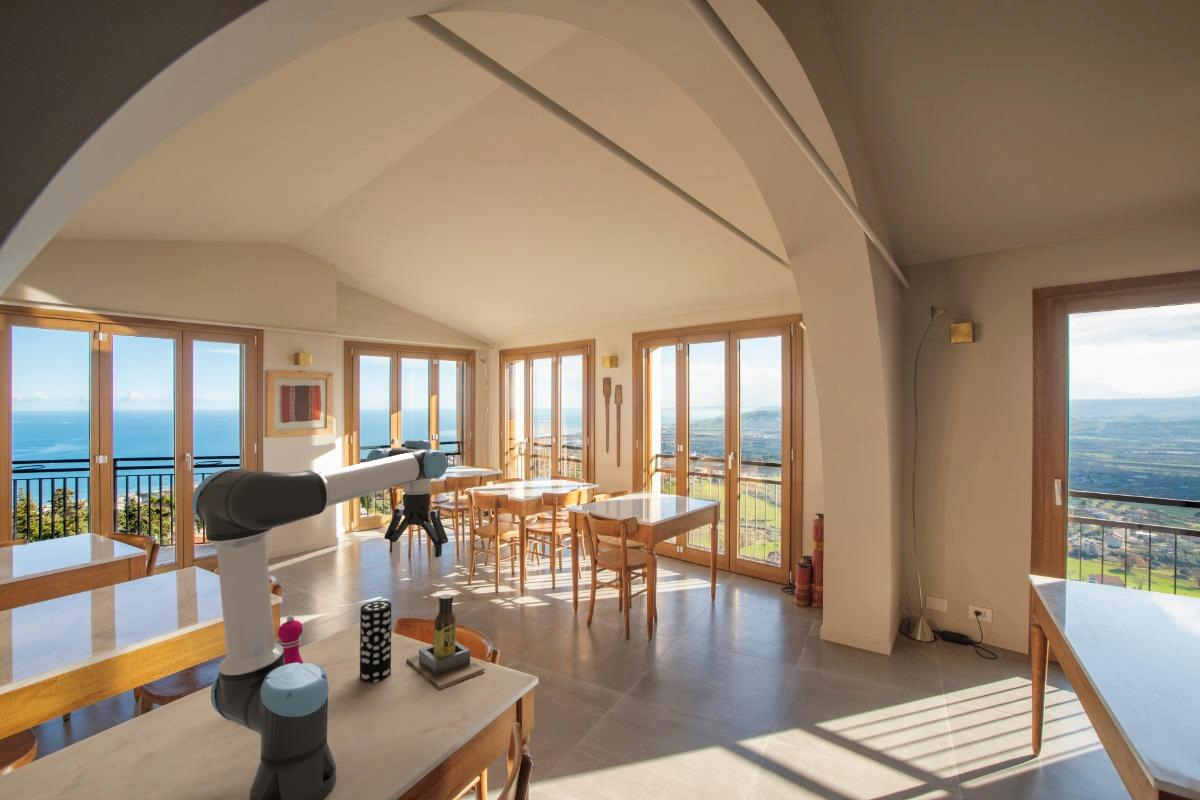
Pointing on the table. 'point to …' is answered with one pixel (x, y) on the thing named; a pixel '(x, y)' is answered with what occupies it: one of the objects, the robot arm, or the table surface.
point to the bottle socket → (444, 659)
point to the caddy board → (448, 677)
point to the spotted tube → (375, 641)
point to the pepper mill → (291, 640)
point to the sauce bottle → (445, 628)
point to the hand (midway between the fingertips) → (415, 566)
